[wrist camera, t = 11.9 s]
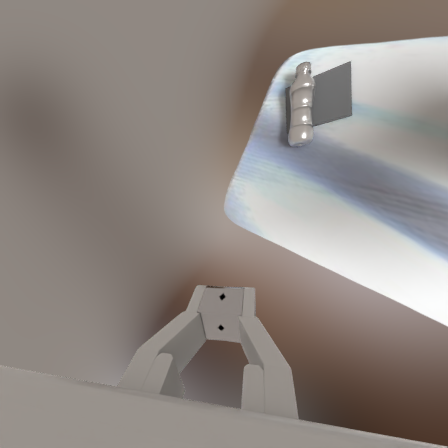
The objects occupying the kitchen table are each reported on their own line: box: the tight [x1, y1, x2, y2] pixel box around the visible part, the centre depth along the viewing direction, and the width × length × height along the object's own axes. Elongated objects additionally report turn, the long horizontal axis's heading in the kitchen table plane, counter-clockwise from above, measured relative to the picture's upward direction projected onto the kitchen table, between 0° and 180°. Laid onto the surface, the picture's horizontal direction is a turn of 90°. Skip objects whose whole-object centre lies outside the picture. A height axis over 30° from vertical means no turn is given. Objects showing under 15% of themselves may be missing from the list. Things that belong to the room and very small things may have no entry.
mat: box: [286, 61, 352, 134], centre depth 49 cm, size 16×13×1 cm
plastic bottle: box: [288, 62, 316, 147], centre depth 49 cm, size 6×7×20 cm
